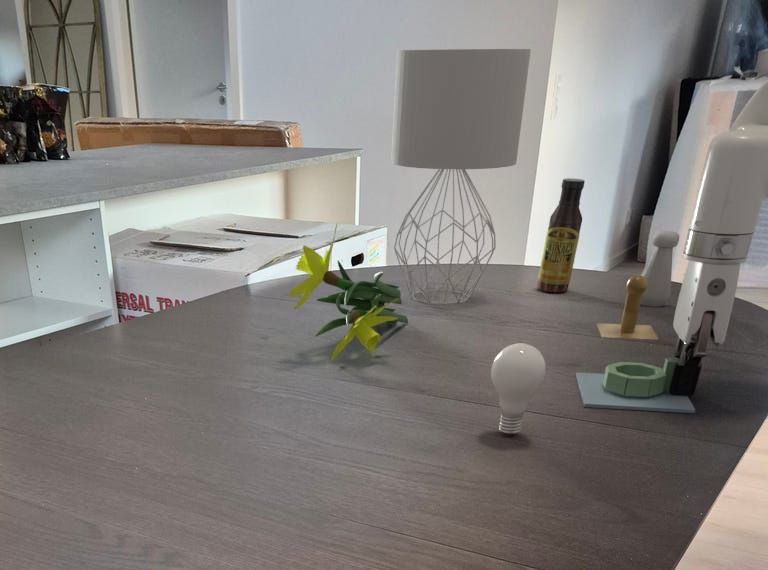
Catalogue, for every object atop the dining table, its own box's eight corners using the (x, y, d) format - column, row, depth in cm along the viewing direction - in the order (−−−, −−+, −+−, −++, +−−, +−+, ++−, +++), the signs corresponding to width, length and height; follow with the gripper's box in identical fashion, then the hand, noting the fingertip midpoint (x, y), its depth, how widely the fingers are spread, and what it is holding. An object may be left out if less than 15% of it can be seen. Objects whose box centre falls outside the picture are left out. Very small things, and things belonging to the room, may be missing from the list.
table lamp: (519, 307, 160) (555, 48, 137) (407, 315, 155) (426, 49, 132) (469, 282, 177) (494, 50, 155) (368, 288, 173) (379, 50, 150)
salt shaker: (662, 313, 155) (680, 235, 148) (630, 309, 157) (647, 232, 150) (670, 306, 159) (688, 230, 152) (638, 302, 162) (655, 228, 154)
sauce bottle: (534, 292, 169) (551, 180, 158) (538, 286, 174) (555, 176, 163) (568, 295, 167) (587, 181, 156) (571, 288, 172) (590, 177, 161)
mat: (675, 380, 122) (676, 377, 122) (694, 413, 111) (695, 409, 111) (575, 375, 125) (576, 372, 124) (584, 407, 113) (584, 403, 113)
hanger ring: (684, 382, 119) (692, 353, 117) (695, 399, 113) (703, 369, 111) (600, 377, 121) (606, 349, 119) (606, 394, 115) (612, 365, 113)
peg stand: (649, 330, 145) (663, 270, 140) (658, 344, 138) (672, 281, 133) (595, 327, 147) (606, 268, 141) (600, 341, 140) (612, 279, 134)
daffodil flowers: (449, 333, 147) (388, 323, 117) (376, 372, 154) (300, 371, 124) (412, 240, 146) (341, 205, 115) (340, 283, 153) (254, 261, 122)
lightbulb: (537, 445, 102) (552, 352, 96) (483, 442, 103) (495, 350, 97) (533, 426, 107) (548, 338, 101) (482, 424, 108) (493, 336, 102)
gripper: (765, 259, 99) (720, 412, 109) (734, 236, 112) (696, 376, 122) (697, 257, 100) (659, 409, 111) (674, 235, 113) (642, 373, 123)
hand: (679, 390), depth 116 cm, fingers closed on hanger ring
